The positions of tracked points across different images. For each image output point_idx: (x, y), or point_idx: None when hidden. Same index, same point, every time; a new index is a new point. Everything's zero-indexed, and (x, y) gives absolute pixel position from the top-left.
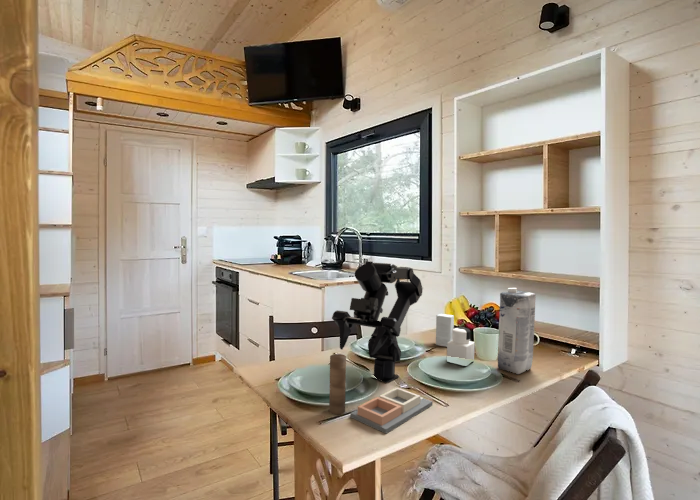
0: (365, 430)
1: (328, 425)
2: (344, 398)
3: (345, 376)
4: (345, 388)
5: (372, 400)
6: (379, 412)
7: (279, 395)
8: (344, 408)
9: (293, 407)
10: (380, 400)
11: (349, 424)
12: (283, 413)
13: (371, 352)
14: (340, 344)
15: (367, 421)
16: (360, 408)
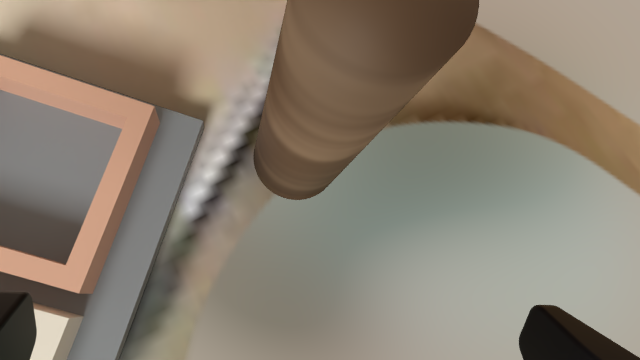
0: (78, 39)
1: (265, 17)
2: (259, 132)
3: (273, 86)
4: (269, 138)
5: (93, 224)
6: (43, 198)
7: (630, 182)
8: (255, 153)
9: (497, 102)
10: (42, 258)
11: (176, 61)
12: (497, 36)
13: (14, 298)
14: (584, 329)
15: (81, 81)
16: (131, 99)
